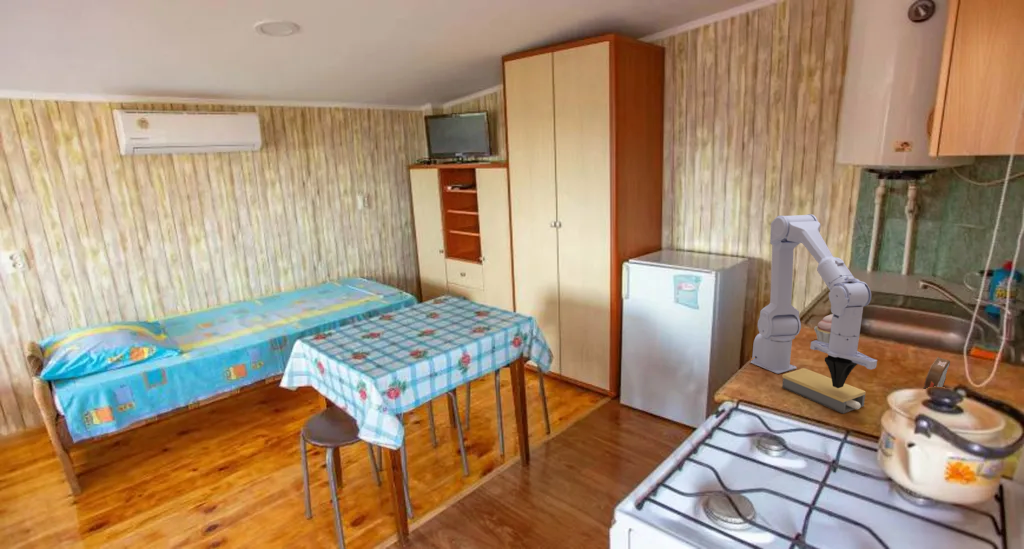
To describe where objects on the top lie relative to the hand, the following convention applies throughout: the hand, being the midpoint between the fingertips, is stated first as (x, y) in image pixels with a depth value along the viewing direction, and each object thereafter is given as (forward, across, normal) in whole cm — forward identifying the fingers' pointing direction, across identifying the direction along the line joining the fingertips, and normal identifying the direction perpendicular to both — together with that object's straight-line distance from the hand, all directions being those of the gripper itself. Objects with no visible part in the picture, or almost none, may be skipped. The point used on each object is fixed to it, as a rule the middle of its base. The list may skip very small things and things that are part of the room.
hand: (837, 386), depth 125 cm
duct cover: (+2, -5, +2) cm, 6 cm away
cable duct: (+5, -5, +2) cm, 7 cm away
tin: (+6, +7, +28) cm, 29 cm away
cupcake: (+6, -27, +38) cm, 47 cm away
